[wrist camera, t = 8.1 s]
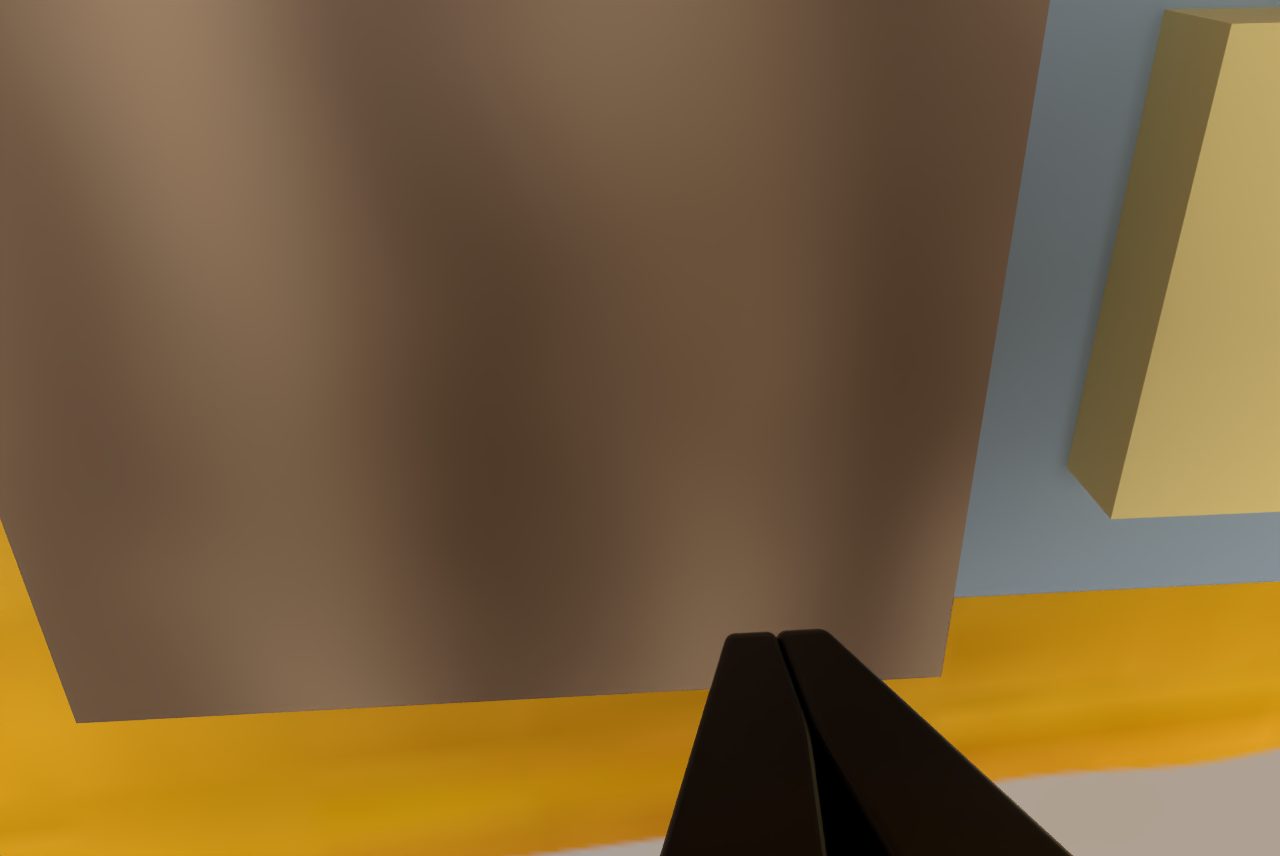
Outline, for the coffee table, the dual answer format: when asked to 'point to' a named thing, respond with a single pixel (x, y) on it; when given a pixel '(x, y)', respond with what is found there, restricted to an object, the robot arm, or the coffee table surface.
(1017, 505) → the mat
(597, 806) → the coffee table surface
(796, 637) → the robot arm
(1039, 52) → the deck
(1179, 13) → the bevelled yellow tile
